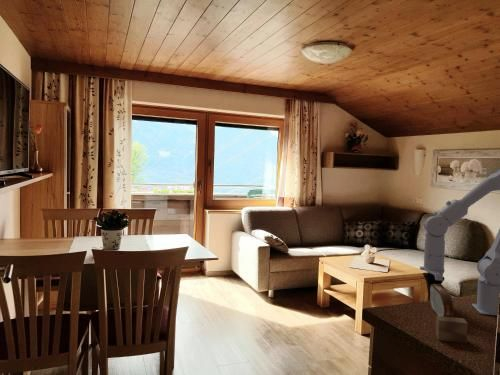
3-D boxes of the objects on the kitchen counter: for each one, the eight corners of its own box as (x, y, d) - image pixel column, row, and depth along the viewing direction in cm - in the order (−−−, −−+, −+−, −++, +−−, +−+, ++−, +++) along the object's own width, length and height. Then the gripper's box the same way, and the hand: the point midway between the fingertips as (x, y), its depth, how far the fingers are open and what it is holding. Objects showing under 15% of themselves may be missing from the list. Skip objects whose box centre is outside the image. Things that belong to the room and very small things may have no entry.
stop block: (462, 337, 95) (463, 318, 95) (466, 343, 92) (467, 323, 92) (435, 334, 97) (436, 315, 96) (438, 340, 94) (439, 320, 93)
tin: (454, 326, 102) (455, 296, 102) (441, 325, 103) (443, 295, 103) (438, 307, 117) (439, 280, 117) (427, 306, 118) (428, 279, 117)
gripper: (416, 249, 127) (414, 288, 127) (425, 258, 113) (423, 303, 113) (439, 250, 125) (437, 290, 126) (451, 260, 111) (449, 305, 111)
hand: (432, 296), depth 119 cm, fingers closed
